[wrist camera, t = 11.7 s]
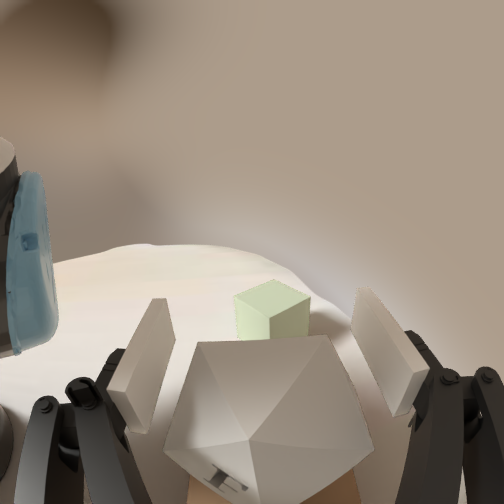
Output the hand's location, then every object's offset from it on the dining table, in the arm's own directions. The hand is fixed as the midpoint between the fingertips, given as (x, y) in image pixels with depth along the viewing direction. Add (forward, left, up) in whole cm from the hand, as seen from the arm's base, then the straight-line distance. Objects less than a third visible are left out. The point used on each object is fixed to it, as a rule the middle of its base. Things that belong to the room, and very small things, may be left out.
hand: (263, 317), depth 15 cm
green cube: (-13, +8, -13) cm, 20 cm away
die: (+4, -2, -7) cm, 8 cm away
